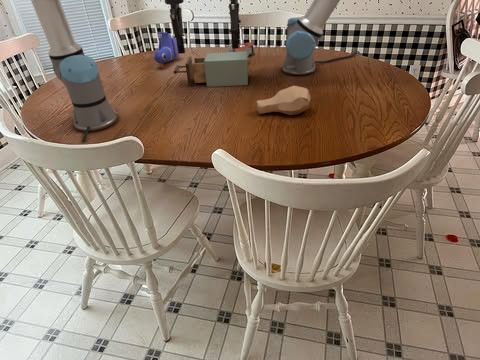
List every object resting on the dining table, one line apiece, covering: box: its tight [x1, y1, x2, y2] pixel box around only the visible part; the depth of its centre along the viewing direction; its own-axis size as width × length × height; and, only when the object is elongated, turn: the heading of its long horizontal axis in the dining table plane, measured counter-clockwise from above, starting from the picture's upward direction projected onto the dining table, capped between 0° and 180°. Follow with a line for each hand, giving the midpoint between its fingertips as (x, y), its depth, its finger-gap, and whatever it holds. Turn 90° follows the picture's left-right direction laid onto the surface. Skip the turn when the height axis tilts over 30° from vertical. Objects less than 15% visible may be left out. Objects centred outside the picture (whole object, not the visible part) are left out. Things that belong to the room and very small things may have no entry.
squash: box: [255, 85, 312, 116], centre depth 130 cm, size 11×20×9 cm, turn 92°
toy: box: [152, 31, 180, 69], centre depth 182 cm, size 10×17×25 cm
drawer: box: [173, 56, 206, 86], centre depth 158 cm, size 23×10×9 cm, turn 88°
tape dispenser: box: [228, 42, 255, 63], centre depth 185 cm, size 18×5×20 cm
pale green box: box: [204, 51, 249, 88], centre depth 157 cm, size 18×11×11 cm, turn 88°
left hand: (181, 52), depth 154 cm, fingers closed
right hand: (236, 43), depth 151 cm, fingers open, 13 cm apart
